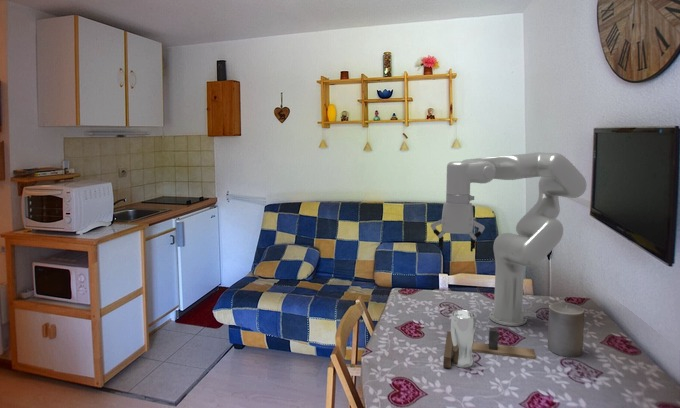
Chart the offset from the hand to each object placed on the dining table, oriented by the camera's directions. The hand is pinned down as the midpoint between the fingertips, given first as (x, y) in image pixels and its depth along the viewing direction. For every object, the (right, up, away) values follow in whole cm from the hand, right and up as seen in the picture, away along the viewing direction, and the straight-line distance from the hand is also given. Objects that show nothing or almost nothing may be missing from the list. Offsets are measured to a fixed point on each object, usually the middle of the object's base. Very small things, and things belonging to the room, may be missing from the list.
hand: (456, 249), depth 146 cm
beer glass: (-3, -32, -18) cm, 36 cm away
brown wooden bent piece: (+6, -31, -16) cm, 35 cm away
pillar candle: (+30, -30, -11) cm, 44 cm away
